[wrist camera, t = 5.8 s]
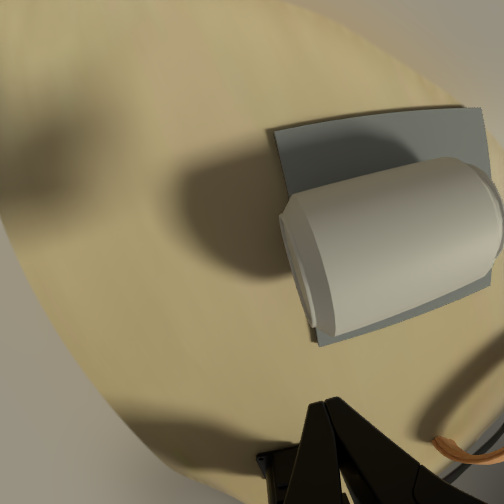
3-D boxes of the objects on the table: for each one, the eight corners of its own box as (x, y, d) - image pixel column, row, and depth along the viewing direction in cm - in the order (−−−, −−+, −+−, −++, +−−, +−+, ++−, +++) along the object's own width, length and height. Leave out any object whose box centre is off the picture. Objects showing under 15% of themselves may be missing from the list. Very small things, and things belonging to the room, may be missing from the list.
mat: (486, 283, 21) (490, 285, 21) (317, 343, 22) (319, 347, 22) (477, 107, 17) (481, 107, 16) (273, 132, 17) (274, 131, 17)
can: (295, 238, 11) (522, 172, 10) (266, 182, 17) (439, 141, 17) (324, 372, 14) (505, 294, 13) (294, 288, 21) (442, 239, 20)
